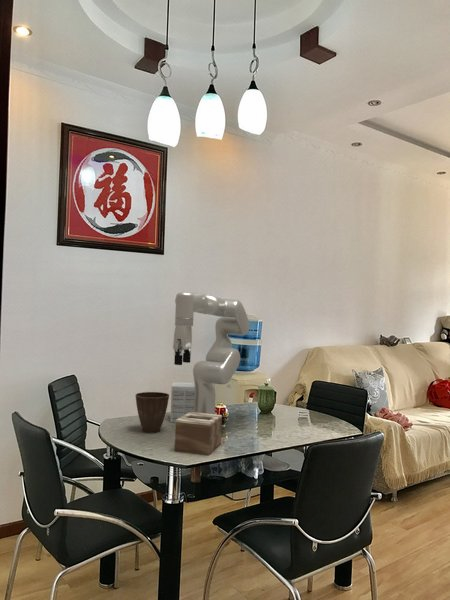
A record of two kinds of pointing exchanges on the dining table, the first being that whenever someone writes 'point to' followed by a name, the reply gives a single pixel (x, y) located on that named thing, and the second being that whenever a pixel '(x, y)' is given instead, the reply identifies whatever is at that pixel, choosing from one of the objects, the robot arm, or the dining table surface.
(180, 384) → the supplement box
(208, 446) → the box with rectangular opening
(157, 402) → the plant pot
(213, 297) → the robot arm
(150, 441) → the dining table surface
